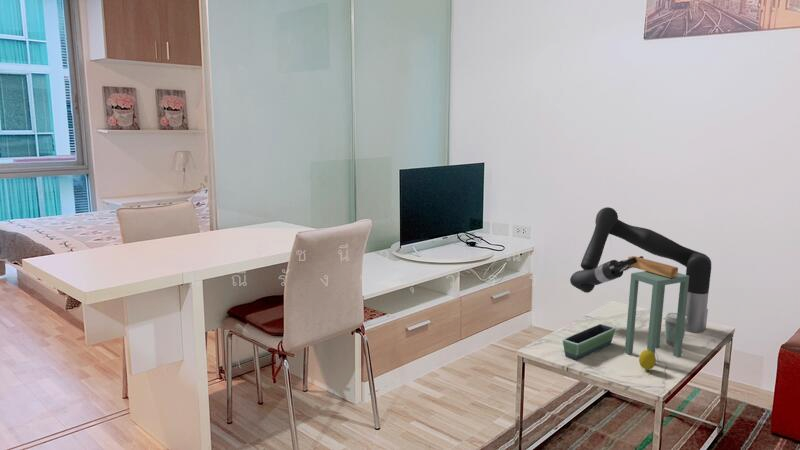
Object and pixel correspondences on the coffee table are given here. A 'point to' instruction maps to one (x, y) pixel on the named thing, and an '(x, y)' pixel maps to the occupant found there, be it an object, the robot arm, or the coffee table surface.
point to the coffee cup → (672, 327)
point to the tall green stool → (656, 309)
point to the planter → (588, 341)
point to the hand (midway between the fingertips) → (639, 259)
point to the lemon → (647, 359)
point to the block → (655, 267)
